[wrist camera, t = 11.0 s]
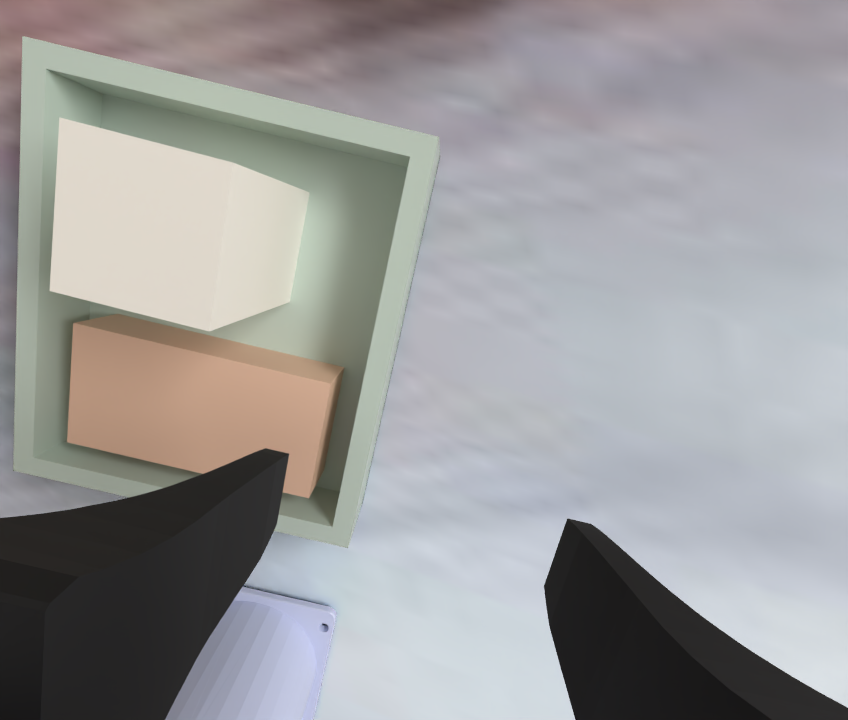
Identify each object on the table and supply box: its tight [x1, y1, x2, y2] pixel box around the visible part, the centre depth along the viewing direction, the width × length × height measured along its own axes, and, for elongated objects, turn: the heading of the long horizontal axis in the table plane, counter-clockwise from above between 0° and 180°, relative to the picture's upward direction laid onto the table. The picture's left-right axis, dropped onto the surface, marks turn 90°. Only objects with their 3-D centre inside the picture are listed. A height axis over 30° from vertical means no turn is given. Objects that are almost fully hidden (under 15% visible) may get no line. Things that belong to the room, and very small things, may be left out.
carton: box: [50, 117, 310, 331], centre depth 16 cm, size 4×4×7 cm
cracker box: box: [67, 314, 344, 498], centre depth 20 cm, size 5×10×2 cm, turn 77°
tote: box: [13, 36, 440, 548], centre depth 19 cm, size 16×14×4 cm
